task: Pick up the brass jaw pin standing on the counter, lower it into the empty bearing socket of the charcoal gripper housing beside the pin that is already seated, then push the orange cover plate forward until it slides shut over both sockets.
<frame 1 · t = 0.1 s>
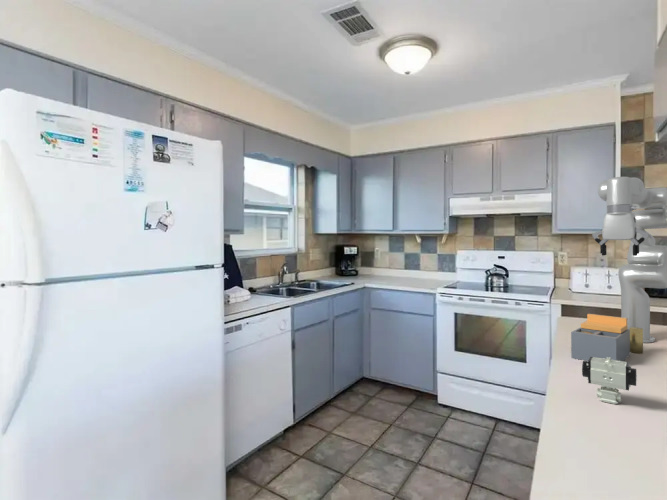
hand: (619, 255, 146), 37 cm above the countertop, tool pointing down, fingers open, 9 cm apart
cover: (603, 323, 144), point 12 cm above the countertop, slide at 0.0 cm
pneumatic valve: (608, 402, 104), on the countertop
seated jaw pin: (586, 356, 142), resting in housing
jaw pin: (636, 352, 145), on the countertop
housing: (600, 356, 141), on the countertop
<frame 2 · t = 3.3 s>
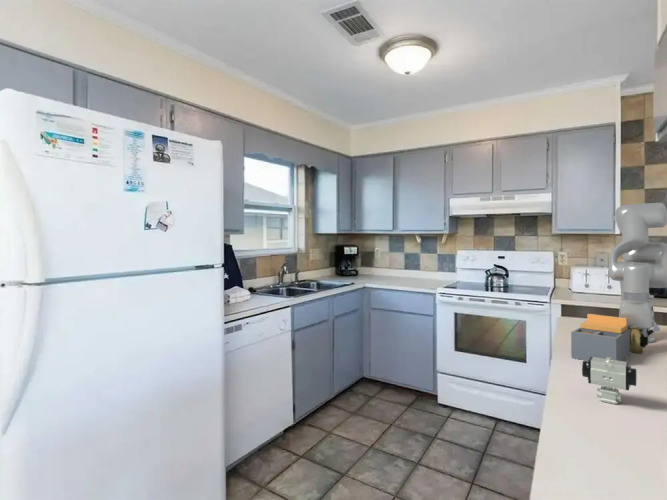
hand: (636, 344, 145), 3 cm above the countertop, tool pointing down, fingers closed on jaw pin, 4 cm apart
jaw pin: (636, 352, 145), on the countertop, touching gripper
everything else where it was.
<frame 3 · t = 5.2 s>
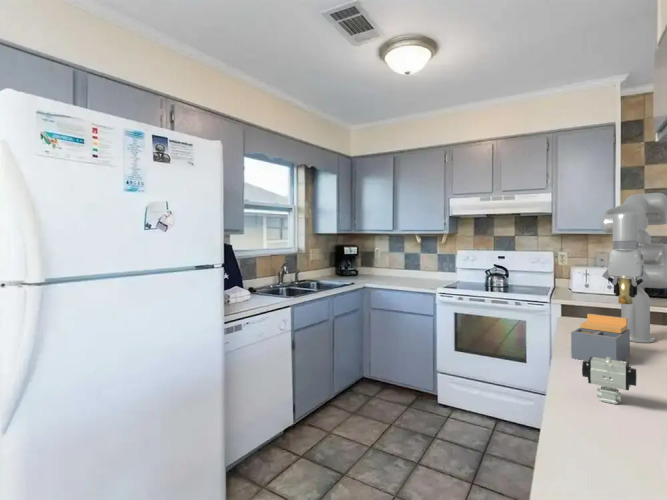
hand: (625, 295, 140), 22 cm above the countertop, tool pointing down, fingers closed on jaw pin, 4 cm apart
jaw pin: (625, 303, 140), point 19 cm above the countertop, touching gripper
everything else where it was.
when the fingers open (10 cm above the countertop, at t = 7.4 s): jaw pin drops 7 cm, resting in housing.
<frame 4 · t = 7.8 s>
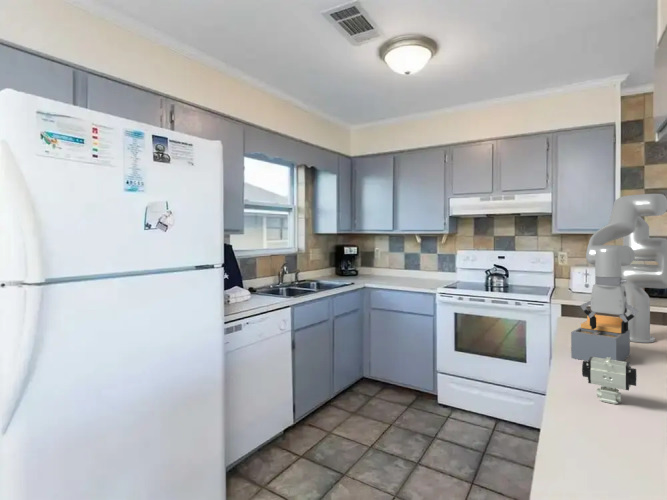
hand: (608, 330, 136), 11 cm above the countertop, tool pointing down, fingers open, 8 cm apart
jaw pin: (609, 361, 136), resting in housing
everything else where it was.
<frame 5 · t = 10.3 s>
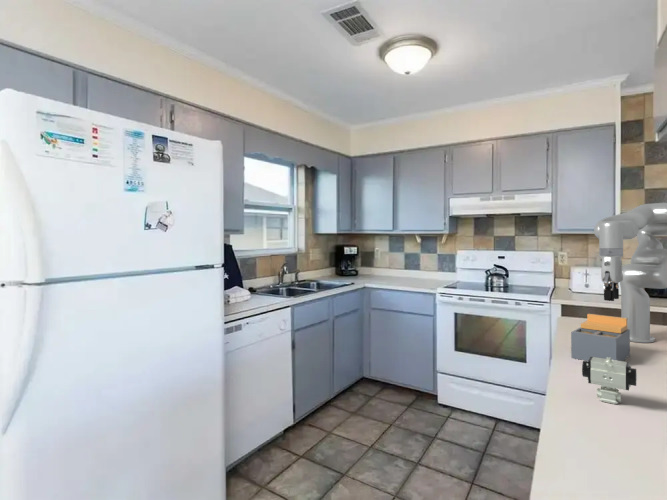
hand: (611, 299, 150), 19 cm above the countertop, tool pointing down, fingers open, 5 cm apart
nothing on the countertop moved.
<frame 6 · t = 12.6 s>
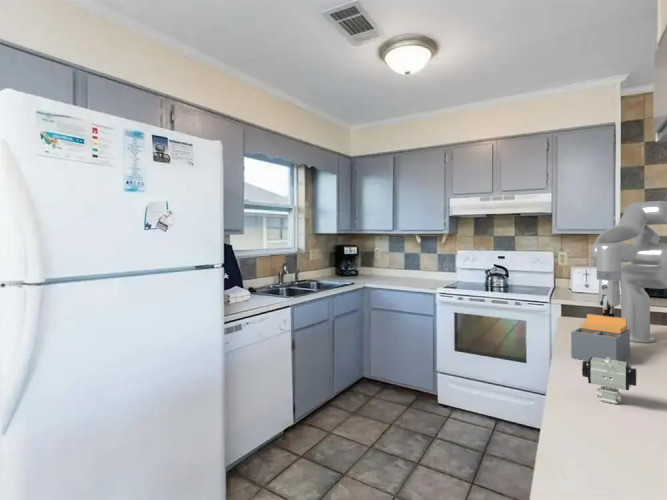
hand: (608, 323, 148), 10 cm above the countertop, tool pointing down, fingers closed
cover: (603, 323, 143), point 12 cm above the countertop, slide at 0.6 cm, touching gripper
everything else where it was.
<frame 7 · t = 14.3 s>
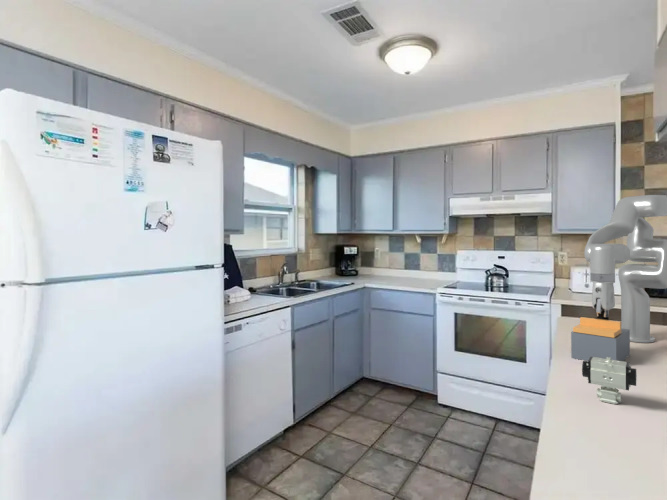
hand: (602, 327, 143), 10 cm above the countertop, tool pointing down, fingers closed
cover: (596, 326, 138), point 12 cm above the countertop, slide at 8.1 cm, touching gripper
everything else where it was.
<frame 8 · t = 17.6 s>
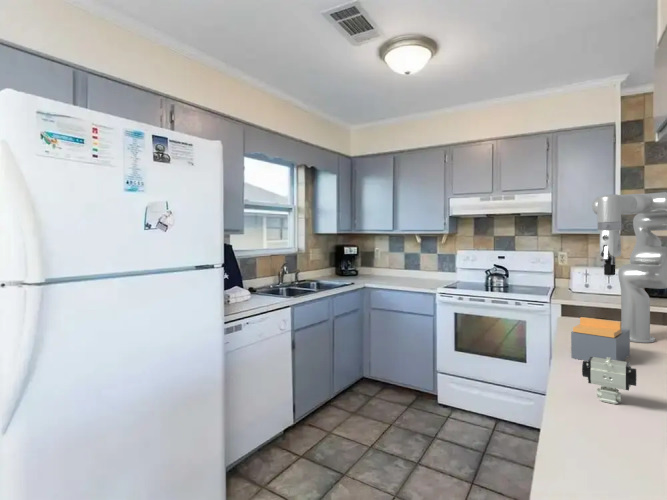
hand: (609, 274, 148), 29 cm above the countertop, tool pointing down, fingers closed
cover: (596, 326, 138), point 12 cm above the countertop, slide at 8.1 cm
everything else where it was.
at the end: jaw pin 0.1 cm from the target spot on the housing, point 0.0 cm above the housing's base; jaw pin tilted 1°; cover slide at 8.1 cm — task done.
